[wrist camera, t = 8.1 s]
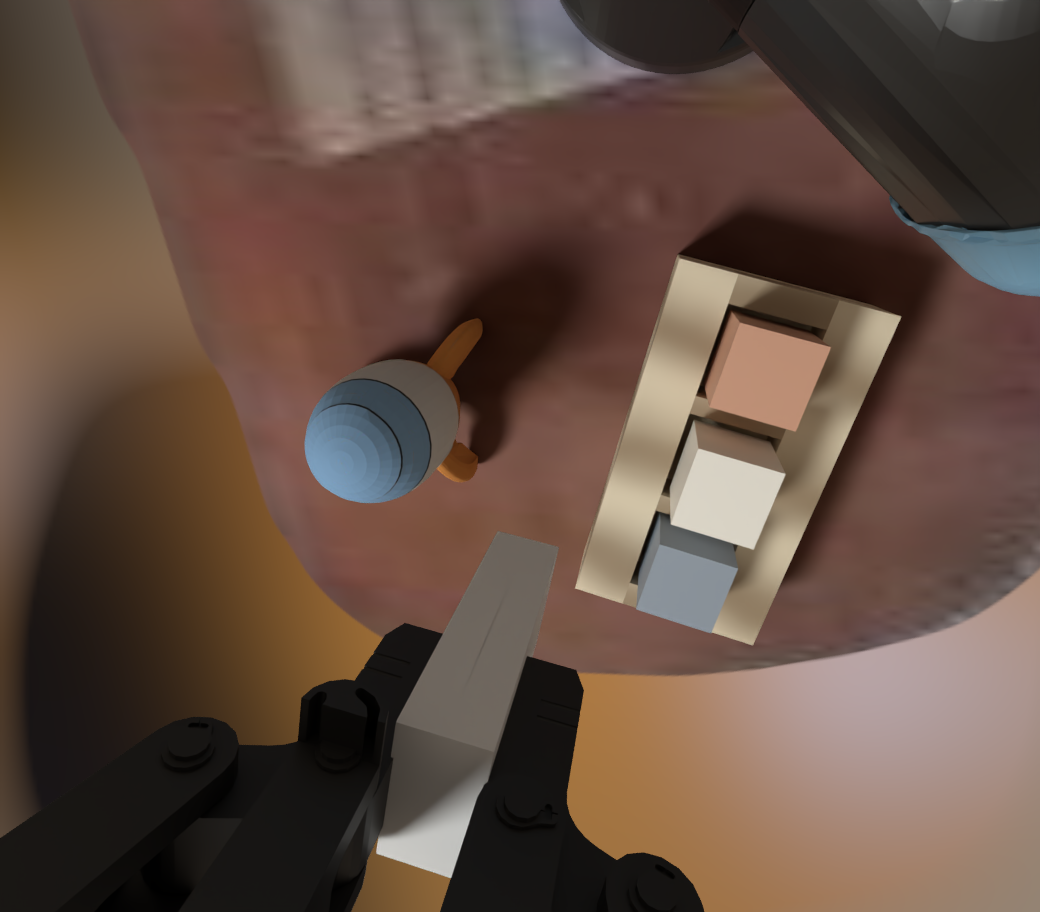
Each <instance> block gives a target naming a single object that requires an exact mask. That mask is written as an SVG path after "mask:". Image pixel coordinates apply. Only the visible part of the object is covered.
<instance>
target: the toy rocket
mask: <svg viewBox="0 0 1040 912" xmlns="http://www.w3.org/2000/svg"><path fill="white" fill-rule="evenodd" d="M482 332H483V328H482V322H481V320H480V319H477V318H476V319H472V320H469V321H467V322H464V323H462V324H461V325H459V326H458V327H457V328H456V329H455V330H454V331H453V332H452V333H451V334H450V335H449V336H448V337H447V338H446V339H445V340H444V342H443V343H442V344H441V345H440V347H439V348H438V349H437V351H436V352H435V353H434V354H433V356H432V357H431V358H430V360H429V361H428V363H427V364H424V363H420V362H416V361H410V360H403V359H395V360H385V361H381V362H377V363H373V364H370V365H368V366H366V367H364V368H361V369H359V370H357V371H355V372H353V373H351V374H350V375H348V376H346V377H344V378H343V379H341V380H340V381H339V382H337V383H336V384H335V385H334V386H333V387H332V388H331V389H330V390H328V391H327V392H326V393H325V394H324V395H323V397H322V398H321V400H320V401H319V403H318V404H317V406H316V407H315V409H314V410H313V413H312V415H311V418H310V420H309V423H308V426H307V432H306V438H305V454H306V459H307V462H308V465H309V467H310V470H311V471H312V473H313V475H314V476H315V478H316V479H317V480H318V482H319V483H320V484H321V485H322V486H323V487H324V488H326V489H327V490H329V491H330V492H332V493H334V494H335V495H337V496H339V497H341V498H344V499H347V500H350V501H355V502H361V503H378V502H384V501H389V500H393V499H396V498H399V497H401V496H403V495H405V494H407V493H409V492H411V491H412V490H414V489H415V488H416V487H418V486H419V485H420V484H422V483H423V482H424V481H425V480H426V479H428V478H429V477H430V476H431V474H432V473H433V472H434V471H435V470H436V468H437V469H438V470H439V471H440V472H441V473H442V474H443V475H445V476H446V477H447V478H449V479H451V480H453V481H456V482H465V481H468V480H470V479H471V478H472V477H473V476H474V474H475V472H476V470H477V464H478V456H477V455H475V454H474V453H473V452H472V451H470V450H469V449H468V448H467V447H466V446H464V445H463V444H462V443H457V442H456V440H455V437H456V434H457V430H458V426H459V420H460V398H459V394H458V391H457V388H456V387H455V385H454V383H453V381H452V380H451V378H452V377H453V376H454V374H455V373H456V371H457V369H458V367H459V366H460V365H461V364H462V362H463V361H464V360H465V358H466V357H467V355H468V354H469V353H470V351H471V350H472V348H473V347H474V346H475V344H476V343H477V341H478V340H479V339H480V337H481V335H482Z"/></svg>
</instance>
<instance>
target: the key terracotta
mask: <svg viewBox="0 0 1040 912" xmlns="http://www.w3.org/2000/svg"><path fill="white" fill-rule="evenodd" d="M830 349H831V347H830V346H829V345H828V344H826V343H825V342H824V341H822V340H821V339H820V338H818V337H817V336H816V335H814V334H813V333H812V332H810V331H809V330H805V329H801V328H797V327H794V326H790V325H786V324H783V323H779V322H775V321H771V320H768V319H764V318H760V317H756V316H753V315H749V314H745V313H742V312H738V311H734V310H730V311H729V314H728V317H727V320H726V323H725V325H724V328H723V331H722V334H721V337H720V339H719V342H718V345H717V348H716V351H715V354H714V356H713V359H712V362H711V365H710V368H709V371H708V373H707V376H706V379H705V382H704V387H705V391H706V395H707V399H708V403H709V407H711V408H714V409H718V410H721V411H725V412H728V413H732V414H735V415H739V416H742V417H746V418H749V419H753V420H756V421H760V422H763V423H767V424H770V425H774V426H777V427H781V428H784V429H788V430H791V431H795V432H796V430H797V428H798V425H799V423H800V420H801V418H802V416H803V413H804V411H805V409H806V406H807V404H808V401H809V399H810V397H811V394H812V392H813V389H814V387H815V385H816V382H817V380H818V378H819V375H820V373H821V370H822V368H823V366H824V363H825V361H826V359H827V356H828V354H829V351H830Z"/></svg>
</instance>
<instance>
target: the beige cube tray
mask: <svg viewBox="0 0 1040 912" xmlns="http://www.w3.org/2000/svg"><path fill="white" fill-rule="evenodd" d="M730 310H734V311H738V312H742V313H745V314H749V315H753V316H756V317H760V318H764V319H768V320H771V321H775V322H779V323H783V324H786V325H790V326H794V327H797V328H801V329H805V330H809V331H810V332H812V333H813V334H814V335H816V336H817V337H818V338H820V339H821V340H822V341H824V342H825V343H826V344H828V345H829V346H830V347H831V349H830V351H829V354H828V356H827V359H826V361H825V363H824V366H823V368H822V370H821V373H820V375H819V378H818V380H817V382H816V385H815V387H814V389H813V392H812V394H811V397H810V399H809V401H808V404H807V406H806V409H805V411H804V413H803V416H802V418H801V420H800V423H799V425H798V428H797V430H796V432H795V431H791V430H788V429H784V428H781V427H777V426H774V425H770V424H767V423H763V422H760V421H756V420H753V419H749V418H746V417H742V416H739V415H735V414H732V413H728V412H725V411H721V410H718V409H714V408H711V407H709V403H708V399H707V395H706V391H705V387H704V382H705V379H706V376H707V373H708V371H709V368H710V365H711V362H712V359H713V356H714V354H715V351H716V348H717V345H718V342H719V339H720V337H721V334H722V331H723V328H724V325H725V323H726V320H727V317H728V314H729V311H730ZM900 319H901V316H898V315H896V314H893V313H891V312H888V311H886V310H883V309H881V308H878V307H876V306H873V305H871V304H867V303H863V302H859V301H855V300H852V299H848V298H844V297H840V296H836V295H832V294H829V293H825V292H821V291H817V290H813V289H810V288H806V287H802V286H798V285H794V284H790V283H787V282H783V281H779V280H775V279H771V278H768V277H764V276H760V275H756V274H752V273H748V272H745V271H741V270H737V269H733V268H729V267H726V266H722V265H718V264H714V263H710V262H706V261H703V260H699V259H695V258H691V257H687V256H684V255H680V254H678V255H677V258H676V261H675V264H674V268H673V271H672V274H671V277H670V280H669V284H668V287H667V290H666V293H665V296H664V299H663V303H662V306H661V309H660V312H659V315H658V318H657V322H656V325H655V328H654V331H653V334H652V338H651V341H650V344H649V347H648V350H647V353H646V357H645V360H644V363H643V366H642V369H641V372H640V376H639V379H638V382H637V385H636V388H635V391H634V395H633V398H632V401H631V404H630V407H629V411H628V414H627V417H626V420H625V423H624V426H623V430H622V433H621V436H620V439H619V442H618V445H617V449H616V452H615V455H614V458H613V461H612V464H611V468H610V471H609V474H608V477H607V480H606V484H605V487H604V490H603V493H602V496H601V499H600V503H599V506H598V509H597V512H596V515H595V518H594V522H593V525H592V528H591V531H590V534H589V537H588V541H587V544H586V547H585V550H584V554H583V558H582V562H581V566H580V571H579V575H578V579H577V583H576V587H575V588H576V589H579V590H582V591H586V592H589V593H592V594H595V595H598V596H601V597H604V598H607V599H610V600H614V601H617V602H620V603H623V604H626V605H629V606H632V607H635V608H636V604H637V591H638V577H639V565H640V562H641V560H642V557H643V554H644V551H645V548H646V546H647V543H648V540H649V537H650V534H651V531H652V529H653V526H654V523H655V520H656V517H657V514H658V512H663V513H666V514H669V515H670V486H671V483H672V480H673V477H674V474H675V472H676V469H677V466H678V463H679V460H680V458H681V455H682V452H683V449H684V446H685V444H686V441H687V438H688V435H689V432H690V430H691V427H692V424H693V421H694V420H697V421H700V422H704V423H707V424H711V425H714V426H718V427H721V428H725V429H728V430H731V431H735V432H738V433H742V434H745V435H749V436H752V437H756V438H759V439H763V440H766V441H770V442H771V445H772V447H773V449H774V451H775V453H776V455H777V457H778V459H779V461H780V463H781V465H782V467H783V469H784V472H785V477H784V479H783V482H782V484H781V486H780V489H779V491H778V493H777V496H776V498H775V500H774V503H773V505H772V507H771V510H770V512H769V514H768V517H767V519H766V522H765V524H764V526H763V529H762V531H761V533H760V536H759V538H758V540H757V543H756V545H755V547H754V550H753V549H750V548H746V547H743V546H740V545H737V544H733V546H734V551H735V556H736V560H737V565H738V570H737V573H736V575H735V578H734V580H733V582H732V585H731V587H730V589H729V592H728V594H727V597H726V599H725V601H724V604H723V606H722V609H721V611H720V613H719V616H718V618H717V620H716V623H715V625H714V628H713V630H712V632H713V633H716V634H719V635H722V636H726V637H729V638H732V639H735V640H738V641H741V642H744V643H747V644H750V645H753V644H754V641H755V639H756V637H757V635H758V633H759V630H760V628H761V626H762V624H763V622H764V619H765V617H766V615H767V613H768V610H769V608H770V606H771V604H772V602H773V599H774V597H775V595H776V593H777V591H778V588H779V586H780V584H781V582H782V580H783V577H784V575H785V573H786V571H787V568H788V566H789V564H790V562H791V560H792V557H793V555H794V553H795V551H796V549H797V546H798V544H799V542H800V540H801V538H802V535H803V533H804V531H805V529H806V526H807V524H808V522H809V520H810V518H811V515H812V513H813V511H814V509H815V507H816V504H817V502H818V500H819V498H820V496H821V493H822V491H823V489H824V487H825V485H826V482H827V480H828V478H829V476H830V473H831V471H832V469H833V467H834V465H835V462H836V460H837V458H838V456H839V454H840V451H841V449H842V447H843V445H844V443H845V440H846V438H847V436H848V434H849V431H850V429H851V427H852V425H853V423H854V420H855V418H856V416H857V414H858V412H859V409H860V407H861V405H862V403H863V401H864V398H865V396H866V394H867V392H868V389H869V387H870V385H871V383H872V381H873V378H874V376H875V374H876V372H877V370H878V367H879V365H880V363H881V361H882V359H883V356H884V354H885V352H886V350H887V347H888V345H889V343H890V341H891V339H892V336H893V334H894V332H895V330H896V328H897V325H898V323H899V321H900Z"/></svg>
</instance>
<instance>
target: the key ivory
mask: <svg viewBox="0 0 1040 912" xmlns="http://www.w3.org/2000/svg"><path fill="white" fill-rule="evenodd" d="M784 477H785V472H784V469H783V467H782V465H781V463H780V461H779V459H778V457H777V455H776V453H775V451H774V449H773V447H772V445H771V442H770V441H766V440H763V439H759V438H756V437H752V436H749V435H745V434H742V433H738V432H735V431H731V430H728V429H725V428H721V427H718V426H714V425H711V424H707V423H704V422H700V421H697V420H694V421H693V424H692V427H691V430H690V432H689V435H688V438H687V441H686V444H685V446H684V449H683V452H682V455H681V458H680V460H679V463H678V466H677V469H676V472H675V474H674V477H673V480H672V483H671V486H670V518H671V525H674V526H678V527H681V528H684V529H687V530H691V531H694V532H697V533H701V534H704V535H707V536H710V537H714V538H717V539H720V540H723V541H727V542H730V543H733V544H737V545H740V546H743V547H746V548H750V549H753V550H754V547H755V545H756V543H757V540H758V538H759V536H760V533H761V531H762V529H763V526H764V524H765V522H766V519H767V517H768V514H769V512H770V510H771V507H772V505H773V503H774V500H775V498H776V496H777V493H778V491H779V489H780V486H781V484H782V482H783V479H784Z"/></svg>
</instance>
